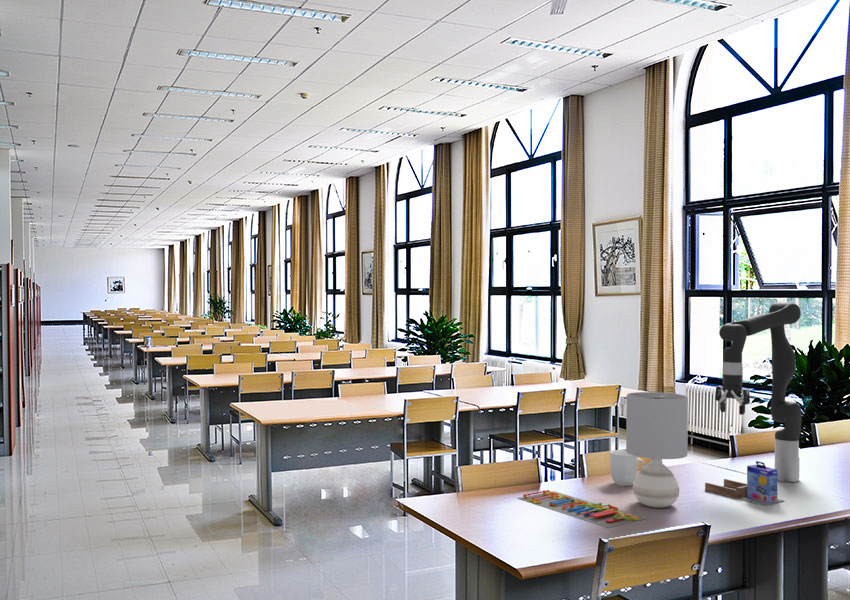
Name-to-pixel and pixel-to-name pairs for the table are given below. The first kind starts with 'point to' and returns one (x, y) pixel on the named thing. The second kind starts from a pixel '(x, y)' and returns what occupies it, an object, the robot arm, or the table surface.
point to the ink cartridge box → (762, 483)
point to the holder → (729, 488)
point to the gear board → (581, 508)
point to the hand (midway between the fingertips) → (732, 413)
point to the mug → (623, 467)
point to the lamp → (656, 443)
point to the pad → (760, 501)
